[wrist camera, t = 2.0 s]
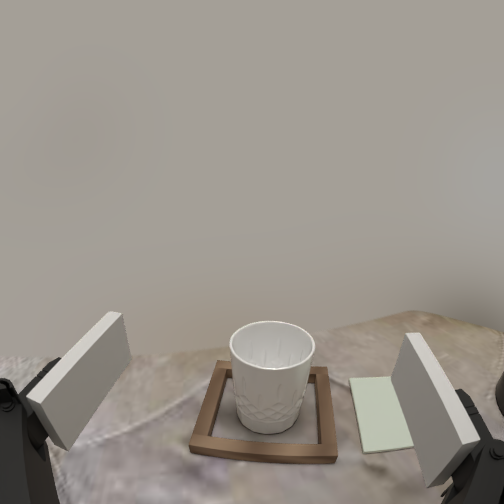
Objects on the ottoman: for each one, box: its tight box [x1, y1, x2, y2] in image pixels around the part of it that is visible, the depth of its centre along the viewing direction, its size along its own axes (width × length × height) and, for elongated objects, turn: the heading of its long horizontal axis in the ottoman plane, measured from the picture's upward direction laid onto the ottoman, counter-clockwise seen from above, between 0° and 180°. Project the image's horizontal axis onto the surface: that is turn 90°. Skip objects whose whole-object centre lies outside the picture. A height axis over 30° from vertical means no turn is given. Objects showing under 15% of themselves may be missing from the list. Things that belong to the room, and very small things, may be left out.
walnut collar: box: [189, 360, 338, 464], centre depth 30 cm, size 14×14×2 cm
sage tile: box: [349, 377, 414, 454], centre depth 28 cm, size 12×12×1 cm
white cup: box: [229, 321, 315, 434], centre depth 29 cm, size 8×8×10 cm
